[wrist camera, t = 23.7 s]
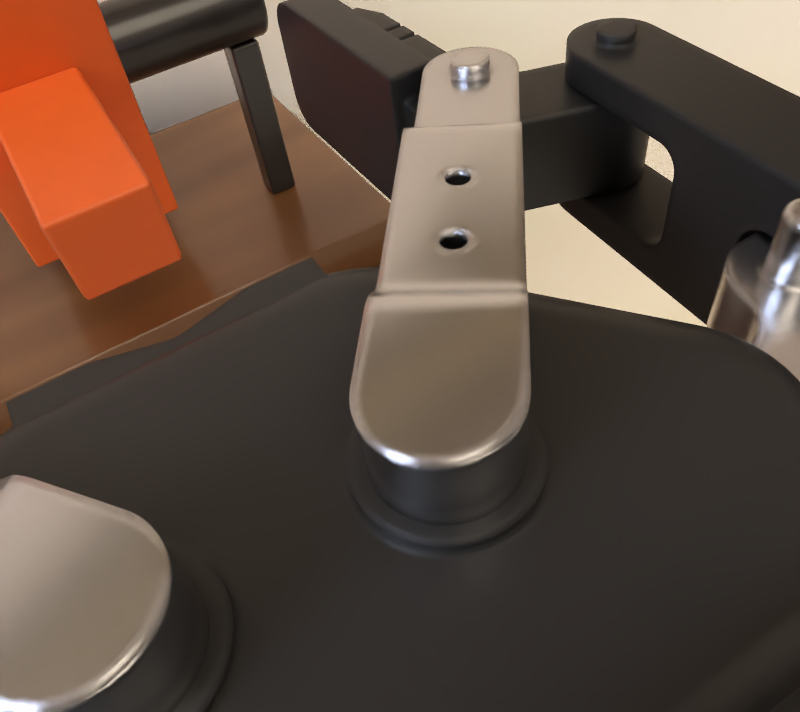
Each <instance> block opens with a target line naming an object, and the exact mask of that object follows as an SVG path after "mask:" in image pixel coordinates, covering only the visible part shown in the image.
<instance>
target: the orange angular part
mask: <svg viewBox="0 0 800 712" xmlns="http://www.w3.org/2000/svg"><path fill="white" fill-rule="evenodd" d="M177 208H178V205H177V202H176V200H175V197H174V195H173V192H172V190H171V187H170V185H169V182H168V179H167V177H166V174H165V172H164V169H163V167H162V164H161V162H160V159H159V157H158V154H157V152H156V149H155V147H154V144H153V142H152V139H151V136H150V134H149V131H148V129H147V126H146V124H145V121H144V119H143V116H142V114H141V111H140V109H139V106H138V104H137V101H136V98H135V96H134V93H133V91H132V88H131V86H130V83H129V81H128V78H127V76H126V73H125V71H124V68H123V66H122V63H121V60H120V58H119V55H118V53H117V50H116V48H115V45H114V43H113V40H112V38H111V35H110V33H109V30H108V28H107V25H106V23H105V20H104V17H103V15H102V12H101V10H100V7H99V5H98V2H97V0H0V211H1V213H2V214H3V216H4V217H5V219H6V220H7V222H8V223H9V225H10V226H11V228H12V229H13V231H14V232H15V234H16V235H17V237H18V238H19V240H20V241H21V243H22V244H23V246H24V247H25V249H26V250H27V252H28V253H29V255H30V256H31V258H32V259H33V261H34V262H35V264H36V265H37V266H38V267H42V266H44V265H46V264H49V263H51V262H53V261H56V260H58V259H60V260H61V261H62V263H63V265H64V266H65V268H66V270H67V271H68V273H69V274H70V276H71V278H72V279H73V281H74V282H75V284H76V286H77V287H78V289H79V290H80V292H81V294H82V295H83V297H85V298H86V299H87V300H92V299H94V298H96V297H99V296H101V295H103V294H105V293H108V292H110V291H112V290H114V289H117V288H119V287H121V286H123V285H126V284H128V283H130V282H132V281H135V280H137V279H139V278H141V277H144V276H146V275H148V274H150V273H153V272H155V271H157V270H159V269H162V268H164V267H166V266H168V265H170V264H173V263H175V262H177V261H179V260H180V259H181V251H180V249H179V246H178V244H177V242H176V239H175V237H174V234H173V232H172V230H171V227H170V225H169V222H168V220H167V218H166V215H165V214H167V213H169V212H171V211H174V210H176V209H177Z"/></svg>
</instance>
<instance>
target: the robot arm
mask: <svg viewBox="0 0 800 712" xmlns="http://www.w3.org/2000/svg"><path fill="white" fill-rule="evenodd" d="M277 17H278V23H279V28H280V32H281V36H282V41H283V45H284V49H285V53H286V58H287V62H288V66H289V70H290V74H291V79H292V83H293V87H294V91H295V95H296V99H297V102H298V105H299V107H300V110H301V112H302V114H303V116H304V118H305V119H306V121H307V123H308V124H309V125H310V127H311V128H312V129H313V130H314V131H315V132H316V133H317V134H319V135H320V136H321V137H322V138H323V139H324V140H325V141H326V142H327V143H328V144H330V145H331V146H332V147H333V148H334V149H335V150H336V151H337V152H338V153H339V154H341V155H342V156H343V157H344V158H345V159H346V160H347V161H348V162H349V163H350V164H352V165H353V166H354V167H355V168H356V169H357V170H358V171H359V172H360V173H361V174H363V175H364V176H365V177H366V178H367V179H368V180H369V181H370V182H371V183H372V184H374V185H375V186H376V187H377V188H378V189H379V190H380V191H381V192H382V193H383V194H385V195H386V196H387V197H388V198H389V199H390V200H391V203H390V209H389V215H388V221H387V227H386V233H385V239H384V245H383V251H382V257H381V263H380V267H366V268H356V269H349V270H343V271H338V272H333V273H329V274H326V273H325V272H324V271H323V270H322V268H321V267H320V266H319V265H318V264H317V263H316V262H315V260H314V259H313V258H312V257H311V258H309V259H306V260H304V261H302V262H300V263H298V264H296V265H294V266H292V267H290V268H288V269H285V270H283V271H281V272H279V273H277V274H275V275H273V276H271V277H269V278H266V279H264V280H262V281H260V282H258V283H256V284H254V285H252V286H250V287H248V288H245V289H243V290H242V291H241V292H239V293H238V294H236V295H235V296H234V297H232V298H231V299H229V300H228V301H227V302H225V303H224V304H222V305H221V306H220V307H218V308H217V309H215V310H214V311H213V312H211V313H210V314H209V315H207V316H206V317H204V318H203V319H202V320H200V321H199V322H197V323H196V324H195V325H193V326H192V327H190V328H189V329H188V330H186V331H185V332H183V333H182V334H180V335H179V336H177V337H175V338H173V339H170V340H167V341H164V342H160V343H157V344H153V345H150V346H146V347H143V348H139V349H136V350H132V351H129V352H125V353H122V354H118V355H115V356H111V357H108V358H104V359H101V360H98V361H94V362H91V363H88V364H85V365H83V366H81V367H79V368H77V369H75V370H73V371H71V372H69V373H66V374H64V375H62V376H60V377H58V378H56V379H54V380H52V381H50V382H47V383H45V384H43V385H41V386H39V387H37V388H35V389H33V390H31V391H29V392H26V393H24V394H22V395H20V396H18V397H16V398H14V399H12V400H10V401H7V402H6V405H7V408H8V412H9V415H10V419H11V422H12V425H13V427H11V428H10V429H9V430H7V431H6V432H5V433H3V434H2V435H1V436H0V712H800V97H799V96H797V95H795V94H792V93H790V92H788V91H786V90H784V89H782V88H780V87H778V86H776V85H774V84H772V83H770V82H768V81H766V80H764V79H762V78H760V77H758V76H756V75H754V74H752V73H750V72H748V71H746V70H744V69H742V68H739V67H737V66H735V65H733V64H731V63H729V62H727V61H725V60H723V59H721V58H719V57H717V56H715V55H713V54H711V53H709V52H707V51H705V50H703V49H701V48H699V47H697V46H695V45H693V44H691V43H689V42H687V41H684V40H682V39H680V38H678V37H676V36H674V35H672V34H670V33H668V32H666V31H664V30H662V29H660V28H658V27H656V26H654V25H652V24H649V23H647V22H643V21H640V20H635V19H627V18H609V19H601V20H596V21H592V22H589V23H585V24H583V25H581V26H579V27H577V28H576V29H574V30H573V31H572V32H571V33H570V34H569V36H568V38H567V47H566V63H561V64H556V65H552V66H547V67H542V68H537V69H533V70H528V71H522V72H519V67H518V63H517V61H516V59H515V58H514V57H513V56H511V55H510V54H508V53H506V52H504V51H501V50H498V49H494V48H487V47H469V48H461V49H456V50H452V51H449V52H445V51H444V50H442V49H440V48H439V47H437V46H435V45H434V44H432V43H430V42H429V41H427V40H426V39H424V38H422V37H421V36H419V35H414V32H412V31H411V30H409V29H408V28H406V27H404V26H402V27H401V26H400V24H399V23H398V22H396V21H394V20H393V19H391V18H390V17H388V16H386V15H385V14H383V13H379V12H374V11H369V10H365V9H360V8H355V9H351V8H350V7H348V6H347V5H345V4H343V3H342V2H340V1H339V0H287V1H284V2H281V3H279V5H278V8H277ZM649 136H651V137H652V138H654V139H655V140H657V141H659V142H660V143H661V144H662V145H663V146H664V147H665V148H666V149H667V150H668V152H669V154H670V156H671V158H672V161H673V165H674V179H673V182H671V181H670V180H668V179H667V178H665V177H664V176H662V175H661V174H659V173H658V172H656V171H655V170H653V169H652V168H650V167H649V166H647V165H646V164H644V163H645V157H646V151H647V145H648V139H649ZM557 203H560V205H561V206H562V207H563V208H564V209H565V210H566V211H567V212H568V213H570V214H571V215H572V216H573V217H574V218H576V219H577V220H578V221H579V222H581V223H582V224H583V225H584V226H586V227H587V228H588V229H589V230H590V231H592V232H593V233H594V234H595V235H597V236H598V237H599V238H600V239H602V240H603V241H604V242H605V243H606V244H608V245H609V246H610V247H611V248H613V249H614V250H615V251H616V252H618V253H619V254H620V255H621V256H622V257H624V258H625V259H626V260H627V261H629V262H630V263H631V264H632V265H634V266H635V267H636V268H637V269H638V270H640V271H641V272H642V273H643V274H645V275H646V276H647V277H648V278H650V279H651V280H652V281H653V282H654V283H656V284H657V285H658V286H659V287H661V288H662V289H663V290H664V291H666V292H667V293H668V294H669V295H670V296H672V297H673V298H674V299H675V300H677V301H678V302H679V303H680V304H682V305H683V306H684V307H685V308H686V309H688V310H689V311H690V312H691V313H693V314H694V315H695V316H696V317H698V318H699V319H700V320H701V321H702V322H704V323H705V324H706V325H707V327H703V326H698V325H693V324H688V323H683V322H678V321H673V320H668V319H662V318H657V317H652V316H647V315H642V314H637V313H631V312H626V311H621V310H616V309H611V308H606V307H601V306H595V305H590V304H585V303H580V302H575V301H570V300H565V299H559V298H554V297H549V296H544V295H539V294H534V293H528V291H527V284H526V251H525V217H524V211H525V210H530V209H534V208H539V207H543V206H548V205H553V204H557Z"/></svg>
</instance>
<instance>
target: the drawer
mask: <svg viewBox="0 0 800 712" xmlns="http://www.w3.org/2000/svg"><path fill="white" fill-rule="evenodd" d="M98 5H99V7H100V10H101V12H102V15H103V17H104V20H105V23H106V25H107V28H108V30H109V33H110V35H111V38H112V40H113V43H114V45H115V48H116V50H117V53H118V55H119V58H120V60H121V63H122V66H123V68H124V71H125V73H126V76H127V78H128V81H129V83H133V82H136V81H139V80H141V79H144V78H147V77H149V76H152V75H155V74H158V73H160V72H163V71H166V70H168V69H171V68H174V67H177V66H179V65H182V64H185V63H187V62H190V61H193V60H196V59H198V58H201V57H204V56H206V55H209V54H212V53H215V52H217V51H220V50H223V49H224V51H225V54H226V58H227V61H228V64H229V68H230V71H231V74H232V78H233V81H234V84H235V88H236V91H237V94H238V98H239V100H238V101H236V102H233V103H230V104H228V105H225V106H223V107H220V108H218V109H215V110H213V111H210V112H207V113H205V114H202V115H200V116H197V117H195V118H192V119H190V120H187V121H184V122H182V123H179V124H177V125H174V126H172V127H169V128H167V129H164V130H162V131H159V132H156V133H154V134H151V135H150V136H151V139H152V142H153V144H154V147H155V149H156V152H157V154H158V157H159V159H160V162H161V164H162V167H163V169H164V172H165V174H166V177H167V179H168V182H169V185H170V187H171V190H172V192H173V195H174V197H175V200H176V202H177V205H178V208H177V209H176V210H174V211H171V212H169V213H167V214H165V215H166V218H167V220H168V222H169V225H170V227H171V230H172V232H173V234H174V237H175V239H176V242H177V244H178V246H179V249H180V251H181V259H180V260H179V261H177V262H175V263H173V264H170V265H168V266H166V267H164V268H162V269H159V270H157V271H155V272H153V273H150V274H148V275H146V276H144V277H141V278H139V279H137V280H135V281H132V282H130V283H128V284H126V285H123V286H121V287H119V288H117V289H114V290H112V291H110V292H108V293H105V294H103V295H101V296H99V297H96V298H94V299H92V300H87V299H86V298H85V297H83V295H82V294H81V292H80V290H79V289H78V287H77V286H76V284H75V282H74V281H73V279H72V278H71V276H70V274H69V273H68V271H67V270H66V268H65V266H64V265H63V263H62V261H61V260H60V259H58V260H56V261H53V262H51V263H49V264H46V265H44V266H42V267H38V266H37V265H36V264H35V262H34V261H33V259H32V258H31V256H30V255H29V253H28V252H27V250H26V249H25V247H24V246H23V244H22V243H21V241H20V240H19V238H18V237H17V235H16V234H15V232H14V231H13V229H12V228H11V226H10V225H9V223H8V222H7V220H6V219H5V217H4V216H3V214H2V213H1V211H0V436H1V435H2V434H3V433H5V432H6V431H7V430H9V429H10V428H11V427H13V425H12V422H11V419H10V415H9V412H8V408H7V405H6V402H7V401H10V400H12V399H14V398H16V397H18V396H20V395H22V394H24V393H26V392H29V391H31V390H33V389H35V388H37V387H39V386H41V385H43V384H45V383H47V382H50V381H52V380H54V379H56V378H58V377H60V376H62V375H64V374H66V373H69V372H71V371H73V370H75V369H77V368H79V367H81V366H83V365H85V364H88V363H91V362H94V361H98V360H101V359H104V358H108V357H111V356H115V355H118V354H122V353H125V352H129V351H132V350H136V349H139V348H143V347H146V346H150V345H153V344H157V343H160V342H164V341H167V340H170V339H173V338H175V337H177V336H179V335H180V334H182V333H183V332H185V331H186V330H188V329H189V328H190V327H192V326H193V325H195V324H196V323H197V322H199V321H200V320H202V319H203V318H204V317H206V316H207V315H209V314H210V313H211V312H213V311H214V310H215V309H217V308H218V307H220V306H221V305H222V304H224V303H225V302H227V301H228V300H229V299H231V298H232V297H234V296H235V295H236V294H238V293H239V292H241V291H242V290H243V289H245V288H248V287H250V286H252V285H254V284H256V283H258V282H260V281H262V280H264V279H266V278H269V277H271V276H273V275H275V274H277V273H279V272H281V271H283V270H285V269H288V268H290V267H292V266H294V265H296V264H298V263H300V262H302V261H304V260H306V259H309V258H311V257H312V258H313V259H314V260H315V262H316V263H317V264H318V265H319V266H320V267H321V268H322V270H323V271H324V272H325V273H326V274H329V273H333V272H338V271H343V270H349V269H356V268H366V267H379V266H380V263H381V257H382V251H383V245H384V239H385V233H386V227H387V221H388V215H389V209H390V203H389V202H388V201H387V200H386V199H385V198H384V197H383V196H382V195H381V194H380V193H378V192H377V191H376V190H375V189H374V188H373V187H372V186H371V185H370V184H369V183H368V182H366V181H365V180H364V179H363V178H362V177H361V176H360V175H359V174H358V173H357V172H356V171H354V170H353V169H352V168H351V167H350V166H349V165H348V164H347V163H346V162H345V161H344V160H342V159H341V158H340V157H339V156H338V155H337V154H336V153H335V152H334V151H333V150H332V149H330V148H329V147H328V146H327V145H326V144H325V143H324V142H323V141H322V140H321V139H320V138H318V137H317V136H316V135H315V134H314V133H313V132H312V131H311V130H310V129H309V128H308V127H306V126H305V125H304V124H303V123H302V122H301V121H300V120H299V119H298V118H297V117H296V116H294V115H293V114H292V113H291V112H290V111H289V110H288V109H287V108H286V107H285V106H283V105H282V104H281V103H280V102H279V101H278V100H277V99H276V98H275V97H274V96H273V95H272V93H271V89H270V85H269V81H268V78H267V74H266V70H265V66H264V62H263V59H262V55H261V51H260V47H259V43H258V41H257V40H256V39H255V37H258V36H261V35H263V34H265V32H266V31H267V29H268V17H267V10H266V6H265V2H264V0H107V1H104V2H101V3H98Z"/></svg>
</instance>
